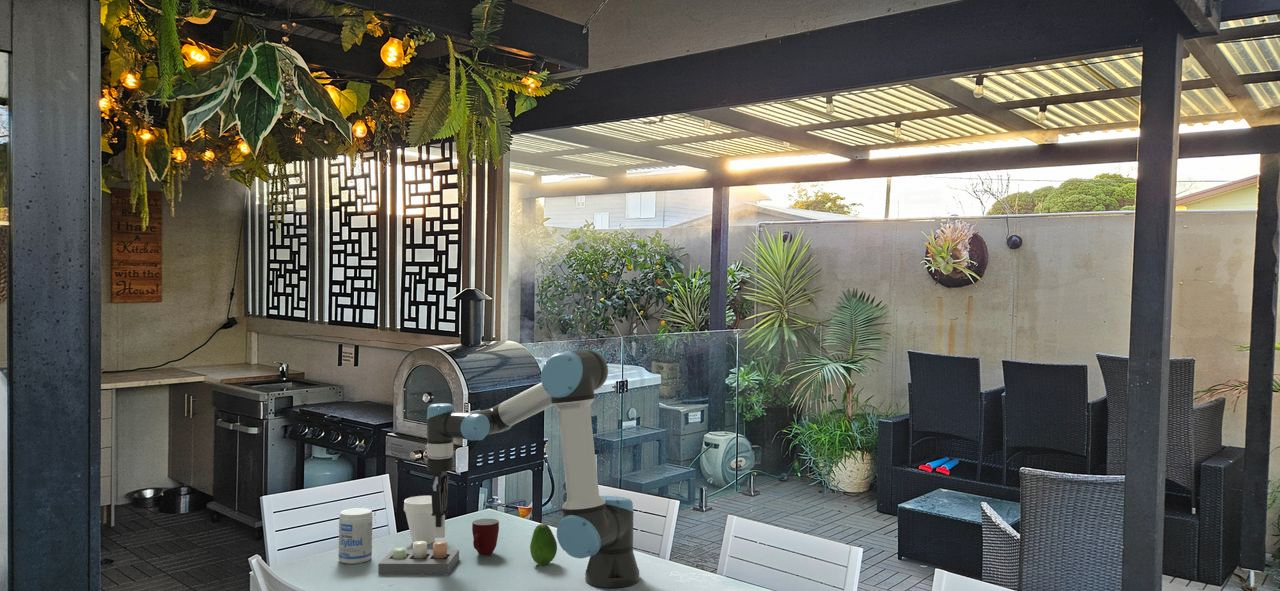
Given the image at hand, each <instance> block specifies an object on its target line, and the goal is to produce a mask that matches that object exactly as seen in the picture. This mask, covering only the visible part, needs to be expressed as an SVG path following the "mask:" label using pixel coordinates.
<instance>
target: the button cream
mask: <svg viewBox="0 0 1280 591" xmlns="http://www.w3.org/2000/svg"><path fill="white" fill-rule="evenodd" d="M427 545H428V544H427V542H426V541H416V542H414V543H413V542H412V550H413V558H417V559H419V558H425V557H427V550H428V546H427Z"/></svg>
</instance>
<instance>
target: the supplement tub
mask: <svg viewBox="0 0 1280 591" xmlns="http://www.w3.org/2000/svg"><path fill="white" fill-rule="evenodd" d="M338 518H339V519H338V561H339V562H340V563H343V564H346V565H347V564H348V565H349V564H350V565H351V564H352V565H355V564H363V563H365V562H368V561H369V560H371V559H372V555H373V554H372V551H373V511H372V509H370V508H367V507H355V508H354V507H353V508H346V509H344V510H341V511H340V512H339V516H338Z"/></svg>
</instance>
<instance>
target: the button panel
mask: <svg viewBox="0 0 1280 591" xmlns="http://www.w3.org/2000/svg"><path fill="white" fill-rule="evenodd" d="M459 561H460V549H447V557H446V558H441V559H436V558H433V549H427V557H425V558H419V559H417V558H413V549H407V558H406V559H393V549H392V550H391V551H390V552H389V553H388V554H386V555H385V557H384V558H382V559H381V560H380V561H379V562H378V564H377V565H378V566H377V568H378V571H377V572H378V575H449V574H450V572H451V571H452V569H453V570H454V567H455V566H456V564H458V562H459Z"/></svg>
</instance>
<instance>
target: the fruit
mask: <svg viewBox="0 0 1280 591" xmlns="http://www.w3.org/2000/svg"><path fill="white" fill-rule="evenodd" d="M529 549H530V556H531V558H532V561H534V563H536V564H537V565H540V566H543V565H548V564H549V563H551V562H553V560H554V559H555V557H556V555H557V552H558V551H557V550H558V543H557V541H556V538H555V536H554V534H553V531H552V529H551V528H550V526H549V525H548V524H546V523H540V524H538V525H537V526H536V527H535V528H534V530H533V533H532V536H531V539H530V545H529Z"/></svg>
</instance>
